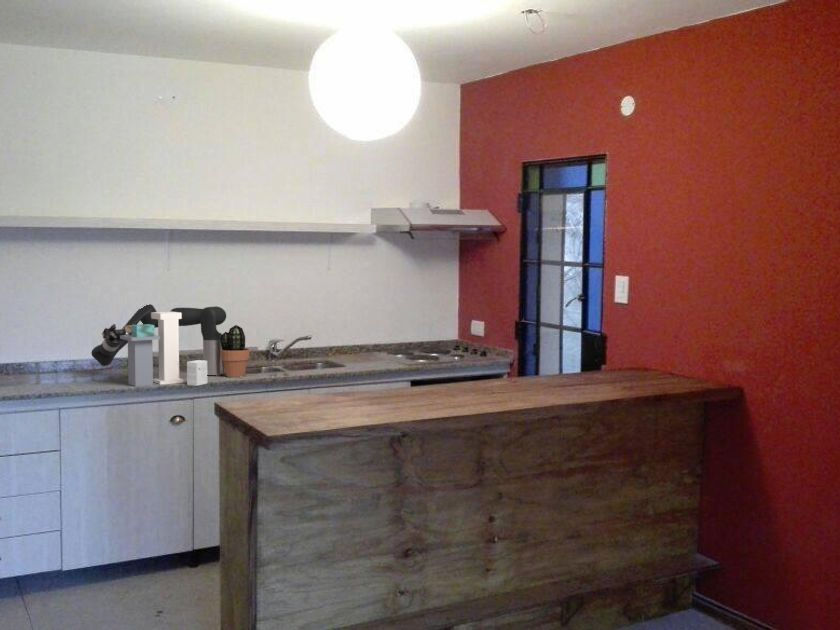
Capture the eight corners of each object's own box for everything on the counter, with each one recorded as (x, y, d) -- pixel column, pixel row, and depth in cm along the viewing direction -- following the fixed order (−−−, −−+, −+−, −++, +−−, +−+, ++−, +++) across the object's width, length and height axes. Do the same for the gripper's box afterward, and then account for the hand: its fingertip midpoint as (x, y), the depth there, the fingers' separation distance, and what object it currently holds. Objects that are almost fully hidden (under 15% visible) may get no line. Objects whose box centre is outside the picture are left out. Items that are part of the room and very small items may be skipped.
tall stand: (173, 379, 395) (173, 311, 393) (183, 382, 388) (182, 312, 386) (151, 382, 388) (150, 312, 386) (160, 384, 381) (159, 313, 378)
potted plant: (248, 374, 417) (247, 323, 416) (251, 377, 404) (251, 325, 403) (219, 375, 413) (219, 323, 411) (222, 378, 400) (221, 326, 398)
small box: (197, 382, 387) (197, 359, 387) (207, 383, 385) (207, 360, 385) (186, 385, 380) (186, 361, 379) (197, 385, 378) (196, 362, 377)
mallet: (136, 333, 391) (136, 322, 391) (154, 336, 376) (154, 325, 376) (119, 334, 386) (119, 323, 386) (136, 337, 371) (136, 326, 371)
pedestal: (148, 381, 389) (148, 334, 387) (160, 385, 379) (160, 336, 378) (120, 384, 380) (119, 335, 379) (132, 387, 371) (131, 337, 369)
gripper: (129, 346, 405) (140, 331, 394) (99, 348, 395) (110, 333, 384) (126, 332, 407) (137, 317, 396) (96, 334, 398) (106, 318, 387)
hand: (124, 325), depth 390 cm, fingers open, 8 cm apart
